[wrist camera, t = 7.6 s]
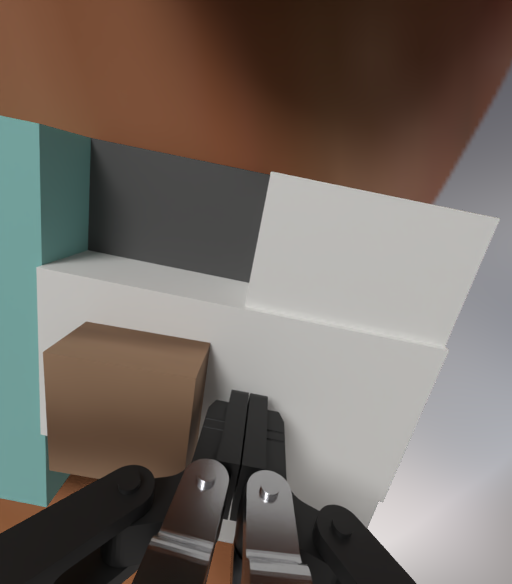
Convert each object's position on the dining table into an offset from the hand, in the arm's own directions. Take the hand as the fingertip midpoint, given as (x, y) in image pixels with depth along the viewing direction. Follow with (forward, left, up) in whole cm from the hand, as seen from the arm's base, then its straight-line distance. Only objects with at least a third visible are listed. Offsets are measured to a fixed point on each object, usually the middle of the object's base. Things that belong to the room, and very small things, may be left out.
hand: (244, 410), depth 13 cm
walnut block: (0, -4, -1) cm, 4 cm away
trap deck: (0, -5, -5) cm, 7 cm away
